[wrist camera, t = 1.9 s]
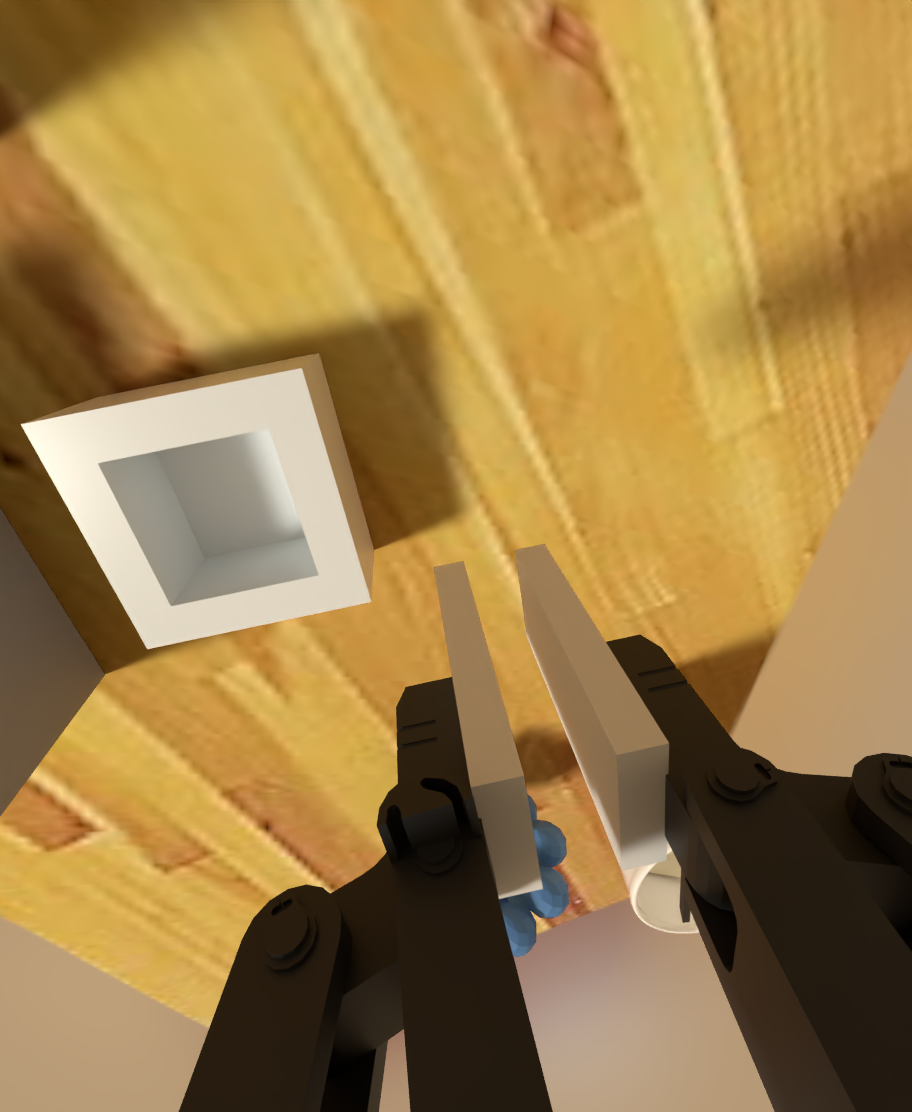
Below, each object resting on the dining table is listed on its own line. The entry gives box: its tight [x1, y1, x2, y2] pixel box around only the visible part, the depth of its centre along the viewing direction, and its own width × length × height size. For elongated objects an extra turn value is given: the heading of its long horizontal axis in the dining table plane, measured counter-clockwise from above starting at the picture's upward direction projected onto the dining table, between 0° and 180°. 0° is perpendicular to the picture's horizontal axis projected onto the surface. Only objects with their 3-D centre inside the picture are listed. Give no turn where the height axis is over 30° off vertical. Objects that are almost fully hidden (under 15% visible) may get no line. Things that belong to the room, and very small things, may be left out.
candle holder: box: [619, 841, 699, 933], centre depth 34 cm, size 10×10×12 cm
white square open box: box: [21, 353, 374, 649], centre depth 25 cm, size 11×11×6 cm
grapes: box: [499, 795, 569, 957], centre depth 35 cm, size 12×7×12 cm, turn 112°
